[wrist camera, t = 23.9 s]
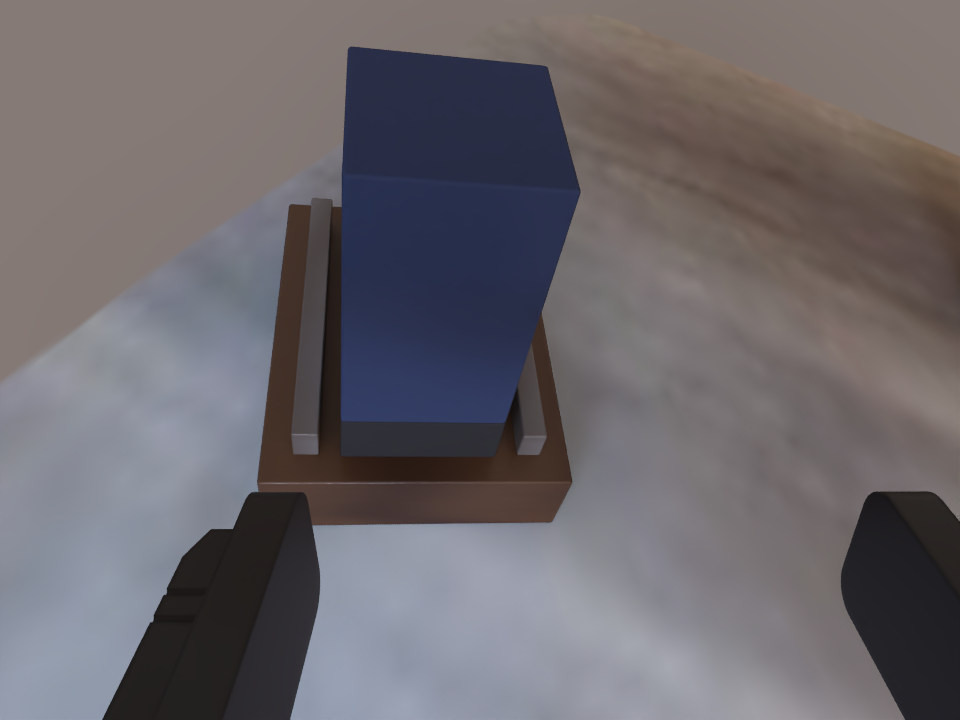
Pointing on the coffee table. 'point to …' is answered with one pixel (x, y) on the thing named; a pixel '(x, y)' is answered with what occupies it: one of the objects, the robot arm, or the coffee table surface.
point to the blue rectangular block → (444, 246)
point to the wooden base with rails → (389, 480)
